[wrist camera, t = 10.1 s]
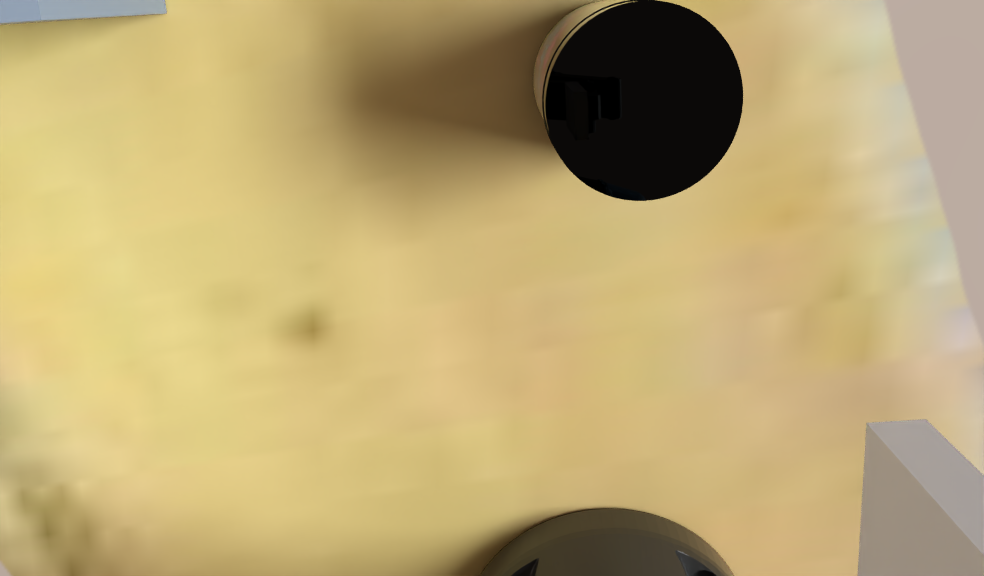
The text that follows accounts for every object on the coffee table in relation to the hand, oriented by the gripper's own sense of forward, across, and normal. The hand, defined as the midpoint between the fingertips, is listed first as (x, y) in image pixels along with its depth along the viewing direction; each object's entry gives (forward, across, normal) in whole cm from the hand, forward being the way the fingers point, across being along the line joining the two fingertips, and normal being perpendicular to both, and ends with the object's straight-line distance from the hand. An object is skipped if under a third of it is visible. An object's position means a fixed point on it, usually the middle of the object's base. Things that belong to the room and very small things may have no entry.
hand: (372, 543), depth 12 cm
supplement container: (+32, -7, -3) cm, 33 cm away
